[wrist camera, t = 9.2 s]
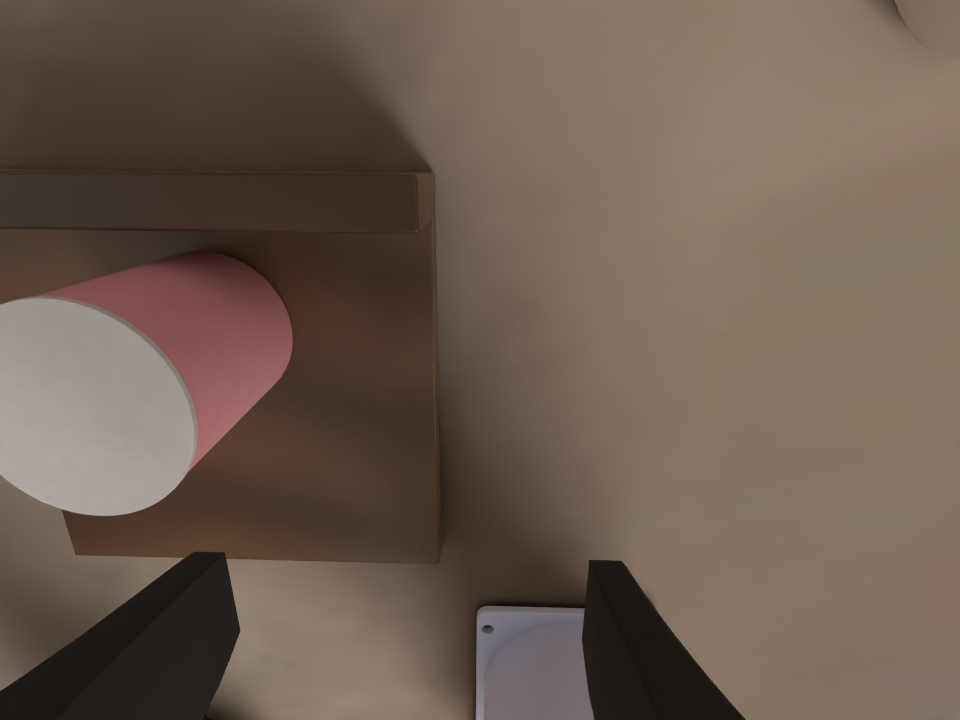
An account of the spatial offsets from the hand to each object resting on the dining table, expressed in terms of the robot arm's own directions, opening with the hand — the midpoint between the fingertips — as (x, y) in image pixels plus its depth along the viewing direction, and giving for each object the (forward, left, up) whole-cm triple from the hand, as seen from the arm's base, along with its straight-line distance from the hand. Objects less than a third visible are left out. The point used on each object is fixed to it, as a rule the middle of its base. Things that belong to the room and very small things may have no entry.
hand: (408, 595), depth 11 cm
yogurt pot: (+3, +8, -9) cm, 12 cm away
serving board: (0, +8, -10) cm, 13 cm away
